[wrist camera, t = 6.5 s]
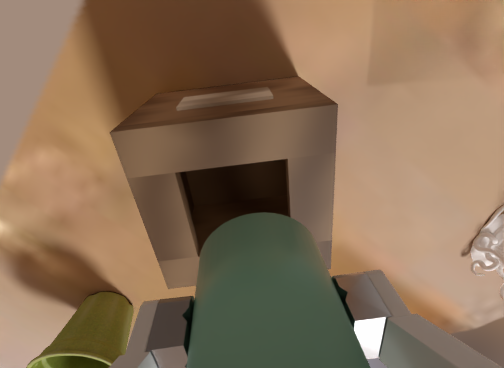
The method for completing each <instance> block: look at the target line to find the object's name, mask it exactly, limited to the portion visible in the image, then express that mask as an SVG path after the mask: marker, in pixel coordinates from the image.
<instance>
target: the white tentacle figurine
mask: <svg viewBox="0 0 504 368" xmlns="http://www.w3.org/2000/svg"><path fill="white" fill-rule="evenodd" d="M503 211H504V205H503V206H501V207H500V208H499V209H498V210H497V211H496V212H495V213H494V214H493V215H492V217H491V218H490V220H489V221H488V222H487V223H486V224H485V225H484V226H483V228H482V229H481V231H480V234H479V235H478V236H477V237H476V238H475V239H474V241H473V246H472V248H471V258H472V259H473V262H472V264H471V267H470V268H471V271H472V273H473V274H475V275H478V276H485V274H480V273H477V272H476V271H475V266H476V265H477V266H479V267H481V268H482V269H483V270H485V271H492V270H495V269H496V271H497V274H498V275H499V276H500V277H501V278H502V279H503V280H504V273H503V268H504V214H502V215H499V214H500V213H501V212H503ZM498 215H499V216H498ZM499 294H500V296H501V298H502V299H503V301H504V283H503V284H502V285H501V287H500V289H499Z"/></svg>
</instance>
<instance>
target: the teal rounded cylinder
mask: <svg viewBox="0 0 504 368" xmlns="http://www.w3.org/2000/svg"><path fill="white" fill-rule="evenodd" d="M186 368H370V366H369V363H368V361H367V359H366V356H365V354H364V352H363V349H362V347H361V345H360V343H359V340H358V338H357V336H356V333H355V331H354V329H353V326H352V324H351V322H350V319H349V317H348V315H347V313H346V310H345V308H344V306H343V303H342V301H341V299H340V296H339V294H338V292H337V290H336V287H335V285H334V283H333V280H332V278H331V276H330V273H329V271H328V269H327V267H326V264H325V262H324V260H323V257H322V255H321V253H320V250H319V248H318V246H317V243H316V241H315V239H314V237H313V235H312V234H311V232H310V231H309V230H308V229H307V228H306V227H305V226H304V225H303V224H301V223H300V222H298V221H297V220H295V219H292V218H290V217H288V216H285V215H281V214H276V213H266V212H263V213H252V214H246V215H242V216H239V217H236V218H234V219H231V220H229V221H228V222H226V223H224V224H222V225H221V226H219V227H218V228H217V229H216V230H215V231H214V232H212V234H211V235H210V236H209V237H208V238H207V240H206V241H205V243H204V245H203V247H202V250H201V253H200V259H199V267H198V275H197V284H196V292H195V300H194V309H193V317H192V325H191V334H190V342H189V350H188V359H187V367H186Z"/></svg>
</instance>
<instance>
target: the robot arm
mask: <svg viewBox="0 0 504 368" xmlns="http://www.w3.org/2000/svg"><path fill="white" fill-rule="evenodd" d="M332 280H333V283H334V285H335V287H336V290H337V292H338V294H339V296H340V299H341V301H342V303H343V306H344V308H345V310H346V313H347V315H348V317H349V319H350V322H351V324H352V326H353V329H354V331H355V333H356V336H357V338H358V340H359V343H360V345H361V347H362V349H363V352H364V354H365V356H366V359H373V358H379V360H380V361H381V362H383V363H384V364H385V365H386V366H387V367H388V368H502V367H501V366H499V365H497V364H496V363H494V362H493V361H491V360H490V359H488V358H486V357H485V356H483V355H482V354H480V353H478V352H477V351H475V350H474V349H472V348H470V347H468V346H467V345H466V344H464V343H463V342H461V341H459V340H458V339H456V338H455V337H453V336H451V335H450V334H448V333H447V332H445V331H443V330H442V329H440V328H439V327H437V326H435V325H434V324H432V323H431V322H429V321H428V320H426V319H424V318H423V317H421V316H420V315H418V314H411V313H410V311H409V310H408V308H407V307H406V305H405V304H404V302H403V301H402V299H401V298H400V296H399V295H398V293H397V292H396V290H395V289H394V287H393V286H392V284H391V283H390V282H389V280H388V279H387V277H386V276H385V274H384V273H383V272H382V271H381V270H373V271H366V272H357V273H351V274H344V275H337V276H333V277H332ZM193 309H194V297H193V296H188V297H179V298H169V299H160V300H153V301H145V302H143V304H142V305H141V306H140V309H139V312H138V315H137V318H136V322H135V325H134V328H133V331H132V334H131V337H130V340H129V343H128V346H127V349H126V353H125V355H121V356H119V357H118V358H117V359H116V360H115V361H114V362H113V363H112V365H111V366H110V367H109V368H186V367H187V359H188V350H189V342H190V334H191V325H192V317H193Z"/></svg>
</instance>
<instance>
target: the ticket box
mask: <svg viewBox="0 0 504 368" xmlns="http://www.w3.org/2000/svg"><path fill="white" fill-rule="evenodd" d="M337 111H338V104H337V103H335V102H334V101H332V100H331V99H330V98H328V97H327V96H325V95H324V94H323V93H321V92H320V91H318V90H317V89H316V88H314V87H313V86H311V85H310V84H309V83H307V82H306V81H304V80H303V79H302V78H300V77H299V76H297V77H289V78H281V79H273V80H265V81H257V82H249V83H241V84H233V85H225V86H216V87H208V88H200V89H192V90H184V91H176V92H168V93H160V94H156V95H154V96H153V97H152V98H151V99H150V100H148V101H147V102H146V103H145V104H143V105H142V106H141V107H140V108H139V109H137V110H136V111H135V112H134V113H133V114H131V115H130V116H129V117H128V118H127V119H125V120H124V121H123V122H122V123H120V124H119V125H118V126H117V127H116V128H114V129H113V130H112V131H111V132H110V135H111V137H112V140H113V143H114V145H115V148H116V151H117V153H118V156H119V159H120V161H121V164H122V167H123V169H124V172H125V175H126V177H127V180H128V183H129V185H130V188H131V191H132V193H133V196H134V199H135V201H136V204H137V207H138V209H139V212H140V215H141V217H142V220H143V223H144V225H145V228H146V231H147V233H148V236H149V239H150V241H151V244H152V247H153V249H154V252H155V255H156V258H157V260H158V263H159V266H160V268H161V271H162V274H163V276H164V279H165V282H166V284H167V287H168V289H172V288H180V287H188V286H196V284H197V275H198V267H199V259H200V253H201V250H202V247H203V245H204V243H205V241H206V240H207V238H208V237H209V236H210V235H211V234H212V232H214V231H215V230H216V229H217V228H218V227H219V226H221V225H222V224H224V223H226V222H228V221H229V220H231V219H234V218H236V217H239V216H242V215H246V214H252V213H263V212H266V213H276V214H281V215H285V216H288V217H290V218H292V219H295V220H297V221H298V222H300V223H301V224H303V225H304V226H305V227H306V228H307V229H308V230H309V231H310V232H311V234H312V235H313V237H314V239H315V241H316V243H317V246H318V248H319V250H320V253H321V255H322V257H323V260H324V262H325V264H326V267H327V269H331V248H332V226H333V203H334V180H335V157H336V134H337Z"/></svg>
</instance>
